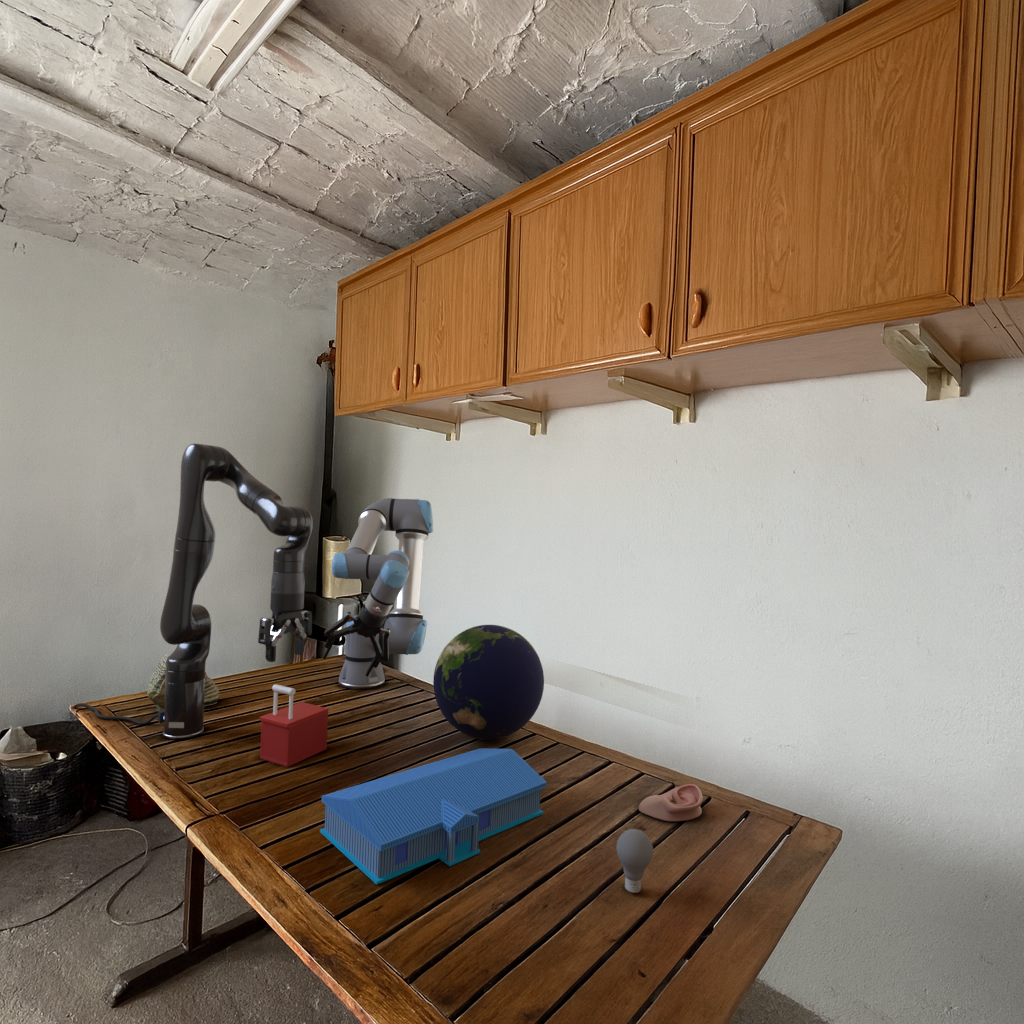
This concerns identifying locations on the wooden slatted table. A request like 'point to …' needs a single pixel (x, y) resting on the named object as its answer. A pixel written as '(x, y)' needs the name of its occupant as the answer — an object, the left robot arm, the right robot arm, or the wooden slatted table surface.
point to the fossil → (158, 687)
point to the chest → (293, 740)
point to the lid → (291, 710)
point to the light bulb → (634, 857)
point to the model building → (431, 811)
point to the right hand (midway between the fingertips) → (346, 665)
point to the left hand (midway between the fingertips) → (285, 657)
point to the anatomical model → (674, 804)
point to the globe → (488, 681)
